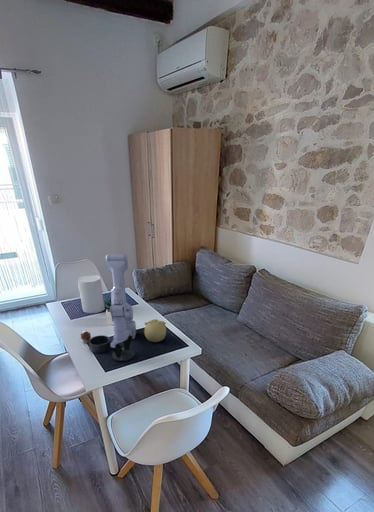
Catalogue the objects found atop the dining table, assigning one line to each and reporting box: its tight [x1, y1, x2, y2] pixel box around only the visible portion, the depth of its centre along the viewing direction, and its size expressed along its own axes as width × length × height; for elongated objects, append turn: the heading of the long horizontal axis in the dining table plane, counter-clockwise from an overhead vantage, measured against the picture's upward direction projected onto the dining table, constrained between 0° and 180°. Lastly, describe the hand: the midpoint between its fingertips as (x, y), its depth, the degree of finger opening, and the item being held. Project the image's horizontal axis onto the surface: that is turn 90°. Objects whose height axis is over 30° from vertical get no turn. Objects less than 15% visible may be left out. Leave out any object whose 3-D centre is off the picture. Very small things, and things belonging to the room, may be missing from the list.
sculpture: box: [144, 318, 167, 343], centre depth 165 cm, size 12×12×11 cm
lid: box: [111, 345, 135, 362], centre depth 151 cm, size 11×11×5 cm
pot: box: [88, 334, 112, 354], centre depth 158 cm, size 10×10×5 cm
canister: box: [76, 274, 106, 314], centre depth 194 cm, size 14×14×20 cm
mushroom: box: [80, 330, 92, 344], centre depth 162 cm, size 5×5×6 cm
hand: (123, 353), depth 152 cm, fingers open, 7 cm apart
